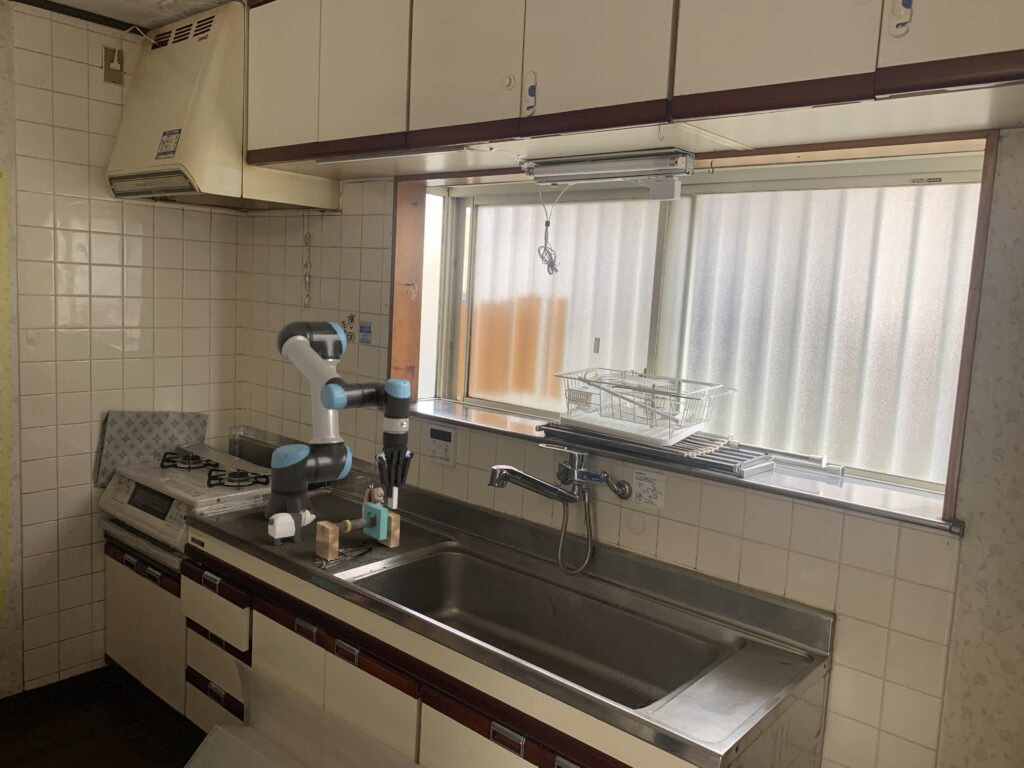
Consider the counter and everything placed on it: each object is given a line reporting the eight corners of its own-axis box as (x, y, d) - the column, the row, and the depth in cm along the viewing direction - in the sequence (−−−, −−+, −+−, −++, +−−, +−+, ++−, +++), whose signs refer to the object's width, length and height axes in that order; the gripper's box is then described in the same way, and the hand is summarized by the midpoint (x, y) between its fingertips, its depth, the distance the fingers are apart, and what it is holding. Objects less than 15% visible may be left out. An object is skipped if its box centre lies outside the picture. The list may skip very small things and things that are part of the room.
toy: (386, 530, 246) (375, 485, 245) (362, 535, 248) (350, 490, 247) (396, 522, 255) (385, 478, 254) (373, 527, 257) (362, 483, 256)
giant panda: (272, 547, 227) (273, 515, 226) (264, 541, 231) (265, 510, 230) (318, 539, 236) (319, 508, 235) (310, 534, 240) (311, 504, 239)
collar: (379, 540, 228) (381, 510, 227) (363, 532, 235) (364, 503, 233) (386, 538, 230) (387, 509, 229) (369, 530, 236) (370, 501, 235)
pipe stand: (328, 561, 218) (329, 527, 217) (315, 554, 223) (316, 521, 222) (398, 545, 235) (400, 514, 233) (385, 539, 240) (387, 508, 238)
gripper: (384, 435, 225) (381, 513, 228) (420, 431, 234) (417, 507, 237) (370, 430, 231) (367, 507, 234) (406, 427, 240) (402, 501, 243)
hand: (392, 507), depth 235 cm, fingers closed
